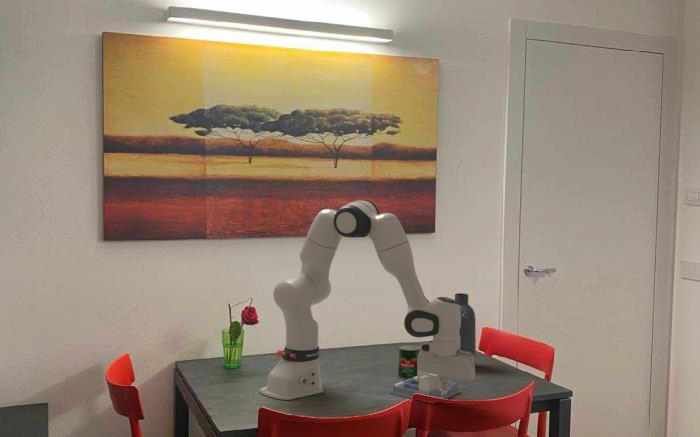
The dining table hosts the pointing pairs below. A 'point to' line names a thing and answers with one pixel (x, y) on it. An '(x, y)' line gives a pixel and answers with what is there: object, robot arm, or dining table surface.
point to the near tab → (426, 384)
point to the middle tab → (437, 384)
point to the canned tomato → (408, 361)
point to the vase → (467, 325)
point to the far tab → (421, 374)
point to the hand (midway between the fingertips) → (445, 389)
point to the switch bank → (412, 387)
